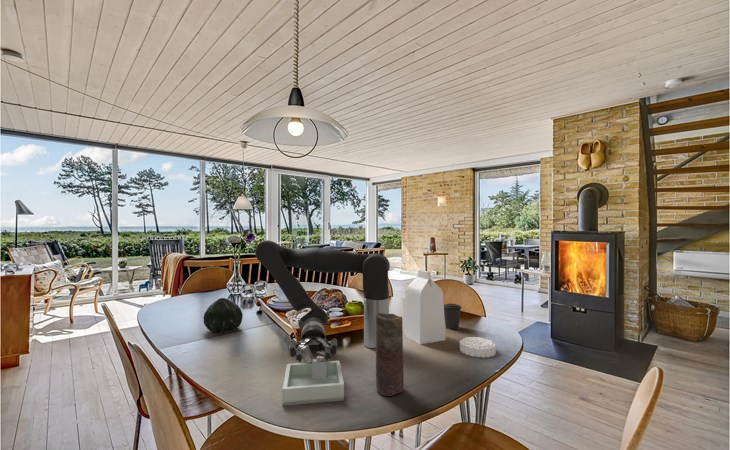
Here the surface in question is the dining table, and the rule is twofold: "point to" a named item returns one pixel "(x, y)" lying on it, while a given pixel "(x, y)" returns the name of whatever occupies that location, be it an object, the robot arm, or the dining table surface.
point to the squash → (223, 316)
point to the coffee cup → (452, 316)
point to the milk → (424, 310)
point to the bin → (312, 384)
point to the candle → (389, 354)
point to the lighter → (316, 364)
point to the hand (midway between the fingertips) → (313, 357)
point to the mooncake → (477, 347)
